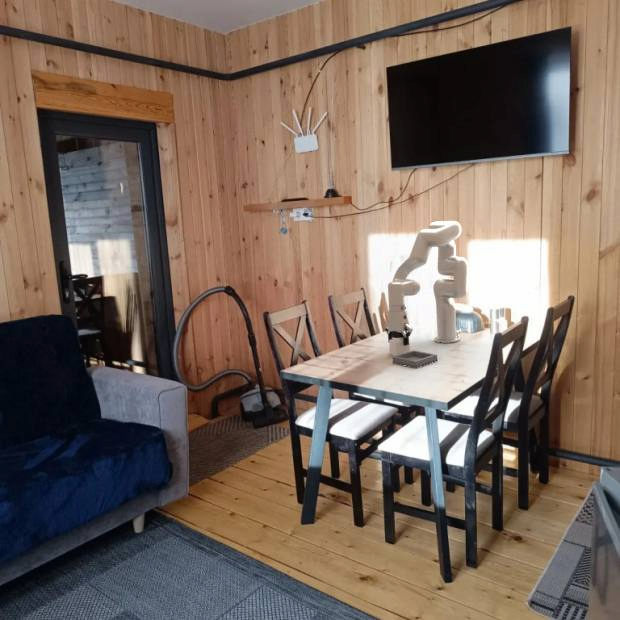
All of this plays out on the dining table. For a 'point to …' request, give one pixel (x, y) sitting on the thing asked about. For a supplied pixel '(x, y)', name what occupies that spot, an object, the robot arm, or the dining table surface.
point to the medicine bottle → (397, 344)
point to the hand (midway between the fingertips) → (398, 343)
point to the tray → (415, 358)
